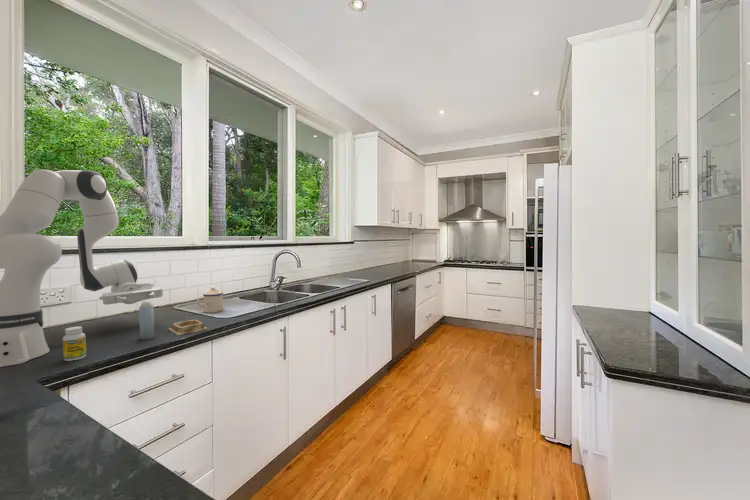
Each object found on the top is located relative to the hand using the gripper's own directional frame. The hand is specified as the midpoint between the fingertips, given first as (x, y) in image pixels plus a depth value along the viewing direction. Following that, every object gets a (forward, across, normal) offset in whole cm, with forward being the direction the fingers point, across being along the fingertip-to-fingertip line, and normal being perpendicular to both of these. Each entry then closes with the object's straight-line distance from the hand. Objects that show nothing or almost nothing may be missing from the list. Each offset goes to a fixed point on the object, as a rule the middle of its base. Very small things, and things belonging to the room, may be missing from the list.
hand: (138, 298), depth 134 cm
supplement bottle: (+20, -22, +13) cm, 32 cm away
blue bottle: (+13, -1, +13) cm, 18 cm away
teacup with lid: (-13, +32, +14) cm, 38 cm away
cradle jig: (+13, +13, +13) cm, 23 cm away
